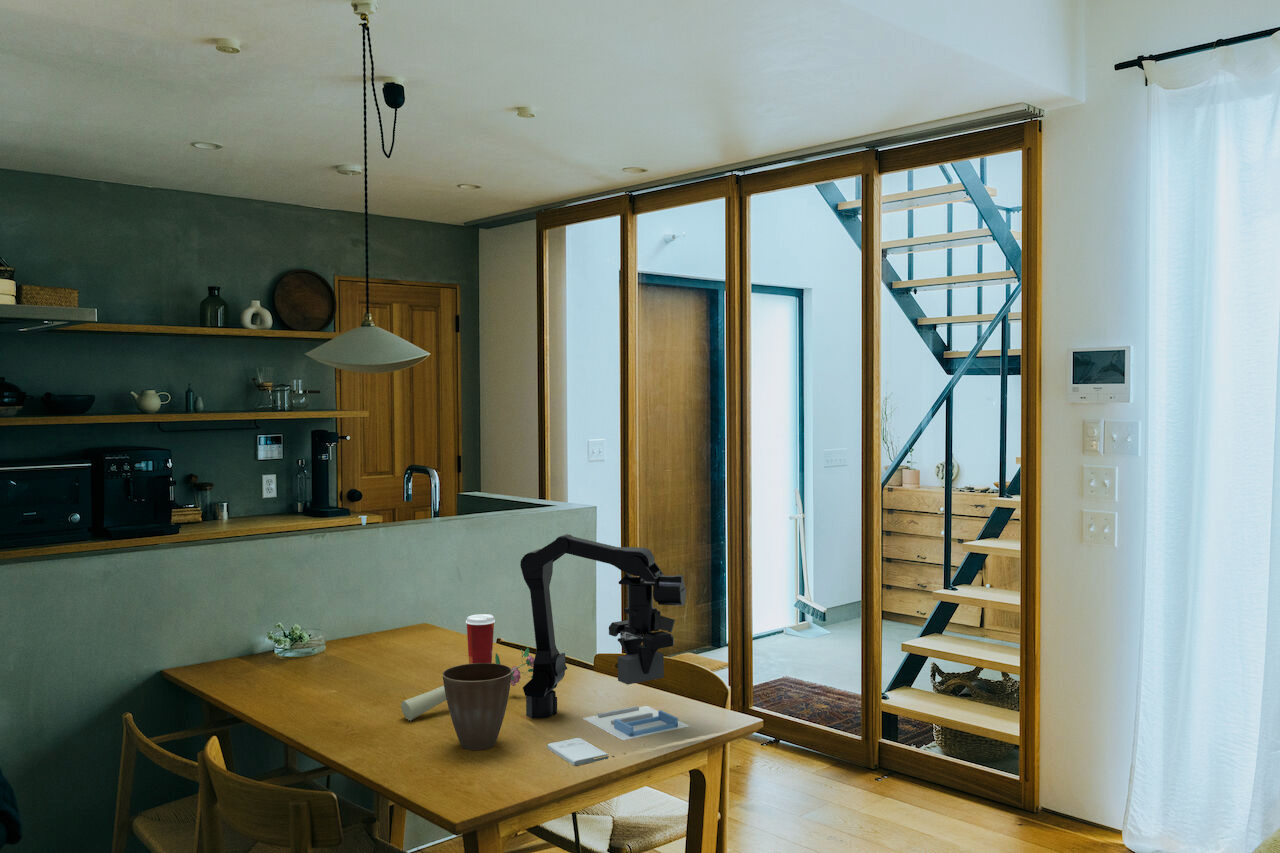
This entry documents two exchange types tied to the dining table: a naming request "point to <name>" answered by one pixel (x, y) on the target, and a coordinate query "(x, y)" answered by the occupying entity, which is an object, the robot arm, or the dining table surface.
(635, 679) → the dark gray block
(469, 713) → the plant pot
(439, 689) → the flower vase
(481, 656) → the coffee cup
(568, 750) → the external hard drive
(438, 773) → the dining table surface
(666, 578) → the robot arm
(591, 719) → the board
